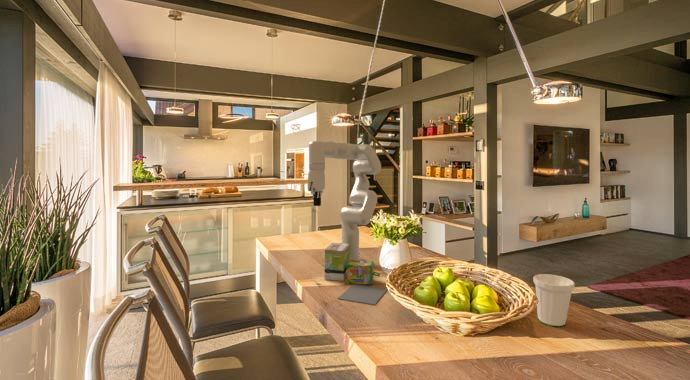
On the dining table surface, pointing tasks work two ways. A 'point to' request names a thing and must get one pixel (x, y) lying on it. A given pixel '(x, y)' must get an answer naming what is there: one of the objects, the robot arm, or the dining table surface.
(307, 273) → the dining table surface
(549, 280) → the cup
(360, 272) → the chalk box
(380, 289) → the mat
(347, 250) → the tea box
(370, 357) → the dining table surface
